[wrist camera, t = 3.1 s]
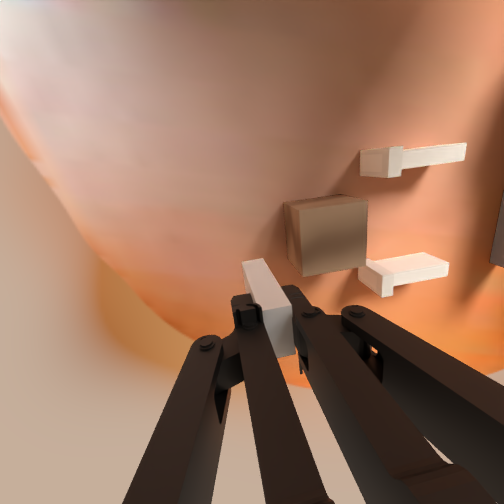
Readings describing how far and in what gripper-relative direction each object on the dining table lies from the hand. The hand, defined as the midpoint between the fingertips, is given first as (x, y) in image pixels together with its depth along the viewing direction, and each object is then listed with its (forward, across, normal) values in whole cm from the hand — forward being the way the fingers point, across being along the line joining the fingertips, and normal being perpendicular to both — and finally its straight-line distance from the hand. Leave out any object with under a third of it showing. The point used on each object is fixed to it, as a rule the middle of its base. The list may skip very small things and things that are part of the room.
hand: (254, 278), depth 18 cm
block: (+9, +8, 0) cm, 12 cm away
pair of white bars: (+9, +17, 0) cm, 19 cm away
